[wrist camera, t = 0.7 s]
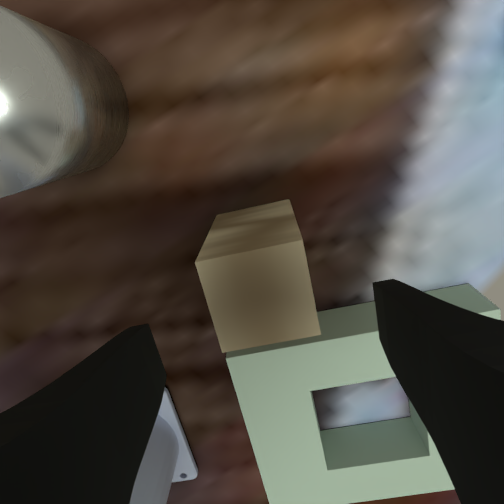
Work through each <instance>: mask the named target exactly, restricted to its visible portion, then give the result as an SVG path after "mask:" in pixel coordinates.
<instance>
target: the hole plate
mask: <svg viewBox="0 0 504 504" xmlns="http://www.w3.org/2000/svg"><path fill="white" fill-rule="evenodd" d="M425 293H427V294H429V295H431V296H434V297H436V298H438V299H441V300H443V301H446V302H448V303H451V304H453V305H456V306H459V307H461V308H464V309H467V310H470V311H472V312H475V313H478V314H481V315H484V316H487V317H491V318H494V319H498V320H501V318H500V308H498V307H497V306H496V305H495V304H493V303H492V302H491V301H490V300H488V299H487V298H486V297H485V296H484V295H482V294H481V293H480V292H479V291H477V290H476V289H475V288H474V287H472V286H471V285H470V284H469V283H468V284H463V285H458V286H452V287H447V288H442V289H437V290H431V291H426V292H425ZM317 316H318V321H319V326H320V331H321V335H318V336H312V337H307V338H301V339H296V340H290V341H285V342H279V343H274V344H268V345H263V346H257V347H252V348H246V349H241V350H235V351H230V352H227V354H226V361H227V364H228V368H229V371H230V374H231V378H232V381H233V384H234V387H235V391H236V394H237V397H238V401H239V404H240V407H241V411H242V414H243V417H244V421H245V424H246V427H247V431H248V434H249V437H250V441H251V444H252V447H253V451H254V454H255V457H256V460H257V464H258V467H259V470H260V474H261V477H262V480H263V484H264V487H265V490H266V494H267V497H268V500H269V504H348V503H356V502H363V501H371V500H378V499H386V498H393V497H400V496H408V495H415V494H423V493H430V492H438V491H445V490H452V489H455V488H454V486H453V484H452V481H451V479H450V477H449V475H448V472H447V470H446V468H445V466H444V464H443V461H442V459H441V457H440V455H439V453H438V450H437V448H436V446H435V444H434V442H433V440H432V438H431V436H430V435H429V433H428V431H427V429H426V427H425V425H424V424H423V422H422V420H421V419H420V417H419V415H418V413H417V412H416V410H415V408H414V407H413V405H412V403H411V401H410V400H409V408H410V417H406V418H399V419H393V420H386V421H380V422H373V423H367V424H361V425H354V426H348V427H341V428H335V429H328V430H322V431H320V428H319V423H318V418H317V414H316V409H315V405H314V400H313V395H312V391H313V390H319V389H325V388H331V387H337V386H343V385H349V384H355V383H361V382H367V381H373V380H379V379H385V378H391V377H396V375H395V374H394V372H393V370H392V368H391V367H390V364H389V362H388V359H387V357H386V355H385V352H384V350H383V347H382V345H381V342H380V340H379V332H378V324H377V315H376V307H375V301H373V302H367V303H362V304H357V305H352V306H346V307H341V308H336V309H330V310H325V311H320V312H317Z"/></svg>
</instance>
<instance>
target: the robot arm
mask: <svg viewBox="0 0 504 504" xmlns="http://www.w3.org/2000/svg"><path fill="white" fill-rule="evenodd" d="M373 290H374V299H375V307H376V315H377V324H378V332H379V340H380V342H381V345H382V347H383V350H384V352H385V355H386V357H387V359H388V362H389V364H390V367H391V368H392V370H393V372H394V374H395V375H396V377H397V379H398V381H399V382H400V384H401V386H402V388H403V389H404V391H405V393H406V395H407V396H408V398H409V400H410V401H411V403H412V405H413V407H414V408H415V410H416V412H417V413H418V415H419V417H420V419H421V420H422V422H423V424H424V425H425V427H426V429H427V431H428V433H429V435H430V436H431V438H432V440H433V442H434V444H435V446H436V448H437V450H438V453H439V455H440V457H441V459H442V461H443V464H444V466H445V468H446V470H447V472H448V475H449V477H450V479H451V481H452V484H453V486H454V488H455V491H456V493H457V495H458V497H459V500H460V502H461V504H504V321H501V320H498V319H494V318H491V317H487V316H484V315H481V314H478V313H475V312H472V311H470V310H467V309H464V308H461V307H459V306H456V305H453V304H451V303H448V302H446V301H443V300H441V299H438V298H436V297H434V296H431V295H429V294H427V293H425V292H422V291H420V290H418V289H416V288H414V287H411V286H409V285H407V284H405V283H402V282H400V281H397V280H395V279H390V280H384V281H379V282H374V283H373ZM166 376H167V375H166V372H165V369H164V366H163V363H162V361H161V358H160V355H159V352H158V349H157V347H156V344H155V341H154V338H153V335H152V333H151V330H150V327H149V324H144V325H138V326H133V327H130V328H128V329H126V330H124V331H123V332H121V333H120V334H118V335H117V336H115V337H114V338H113V339H111V340H110V341H108V342H107V343H106V344H104V345H103V346H102V347H100V348H99V349H98V350H96V351H95V352H94V353H92V354H91V355H90V356H88V357H87V358H86V359H84V360H83V361H82V362H80V363H79V364H78V365H76V366H75V367H73V368H72V369H71V370H69V371H68V372H66V373H65V374H63V375H62V376H61V377H59V378H58V379H56V380H55V381H54V382H52V383H51V384H49V385H48V386H46V387H44V388H43V389H41V390H40V391H38V392H37V393H35V394H33V395H32V396H30V397H28V398H27V399H25V400H23V401H22V402H20V403H18V404H17V405H15V406H13V407H12V408H10V409H8V410H6V411H4V412H2V413H0V504H166V503H167V499H168V495H169V491H170V487H171V483H172V482H178V481H185V480H192V479H195V478H196V477H197V475H198V468H197V466H196V463H195V460H194V458H193V455H192V452H191V450H190V447H189V444H188V442H187V439H186V436H185V434H184V431H183V429H182V426H181V423H180V421H179V418H178V415H177V413H176V410H175V407H174V405H173V402H172V399H171V397H170V394H169V391H168V389H167V388H166V387H165V382H166Z"/></svg>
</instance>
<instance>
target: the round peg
mask: <svg viewBox="0 0 504 504" xmlns="http://www.w3.org/2000/svg"><path fill="white" fill-rule="evenodd" d="M128 120H129V109H128V102H127V97H126V93H125V90H124V87H123V85H122V82H121V80H120V78H119V76H118V74H117V73H116V71H115V70H114V68H113V67H112V65H111V64H110V63H109V62H108V61H107V59H106V58H105V57H104V56H103V55H102V54H101V53H100V52H98V51H97V50H96V49H94V48H93V47H92V46H90V45H89V44H87V43H85V42H83V41H82V40H79V39H77V38H75V37H72V36H70V35H67V34H65V33H63V32H60V31H58V30H56V29H53V28H51V27H49V26H46V25H44V24H42V23H39V22H37V21H35V20H32V19H30V18H28V17H25V16H23V15H21V14H18V13H16V12H13V11H11V10H9V9H6V8H4V7H2V6H0V198H2V197H5V196H8V195H12V194H15V193H18V192H21V191H25V190H28V189H31V188H34V187H37V186H41V185H44V184H47V183H50V182H53V181H57V180H60V179H63V178H66V177H70V176H73V175H76V174H79V173H82V172H86V171H89V170H92V169H95V168H97V167H99V166H101V165H103V164H105V163H106V162H107V161H109V160H110V159H111V158H112V157H113V156H114V155H115V154H116V152H117V151H118V150H119V148H120V146H121V145H122V143H123V141H124V138H125V136H126V132H127V128H128Z"/></svg>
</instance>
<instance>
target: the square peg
mask: <svg viewBox="0 0 504 504" xmlns="http://www.w3.org/2000/svg"><path fill="white" fill-rule="evenodd" d="M195 265H196V268H197V271H198V274H199V278H200V281H201V284H202V288H203V291H204V294H205V298H206V301H207V304H208V307H209V311H210V314H211V317H212V321H213V324H214V327H215V331H216V334H217V337H218V340H219V344H220V347H221V350H222V353H224V352H230V351H235V350H241V349H246V348H252V347H257V346H263V345H268V344H274V343H279V342H285V341H290V340H296V339H301V338H307V337H312V336H318V335H321V331H320V326H319V321H318V316H317V311H316V306H315V301H314V295H313V290H312V285H311V280H310V275H309V270H308V264H307V259H306V254H305V249H304V244H303V239H302V236H301V233H300V230H299V227H298V224H297V221H296V218H295V215H294V212H293V209H292V206H291V203H290V200H289V199H287V200H282V201H278V202H273V203H269V204H264V205H260V206H255V207H251V208H246V209H242V210H237V211H233V212H228V213H223V214H219V215H217V216H216V218H215V220H214V222H213V224H212V226H211V229H210V231H209V233H208V235H207V237H206V239H205V241H204V244H203V246H202V248H201V250H200V252H199V254H198V257H197V259H196V261H195Z"/></svg>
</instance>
